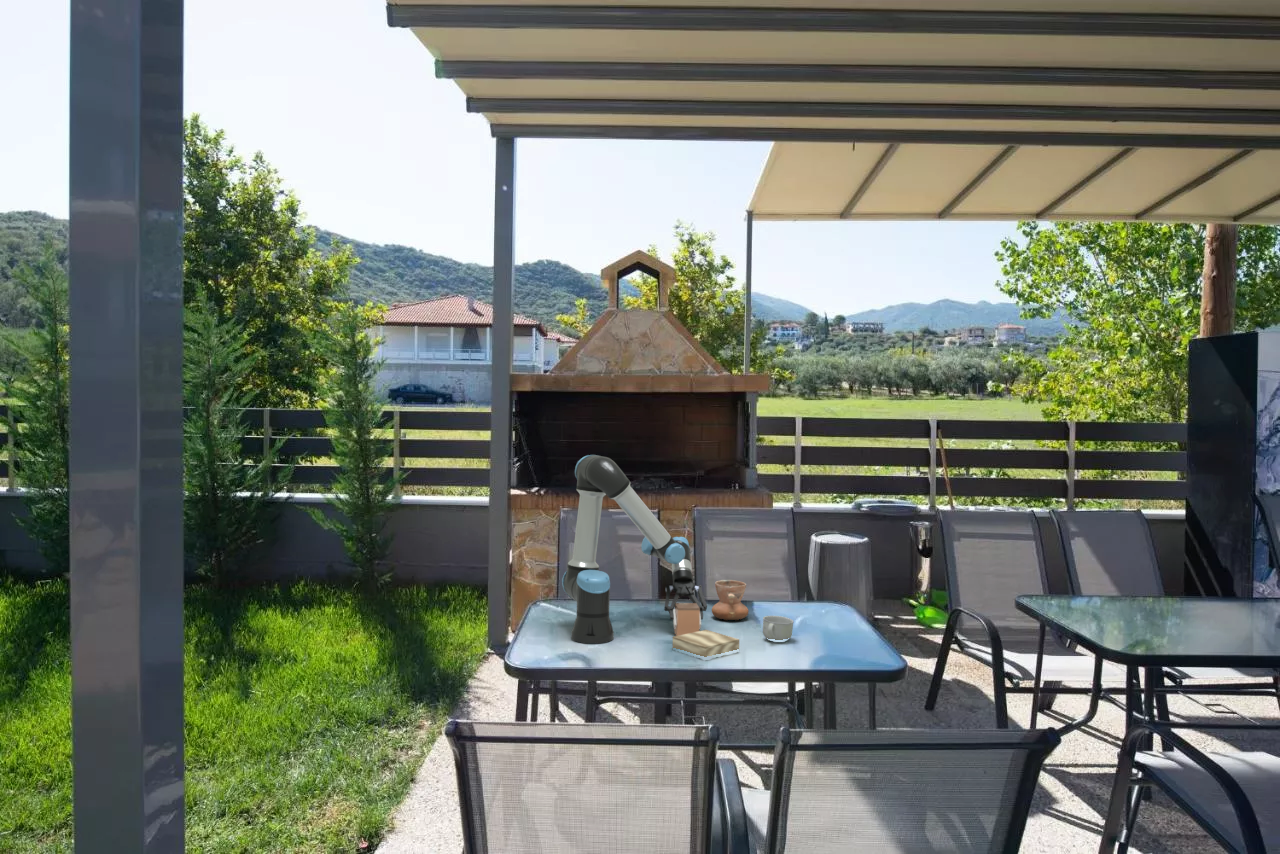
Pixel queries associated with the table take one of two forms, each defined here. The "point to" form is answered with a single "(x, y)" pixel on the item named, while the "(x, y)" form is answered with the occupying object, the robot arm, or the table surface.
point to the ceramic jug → (730, 600)
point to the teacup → (777, 627)
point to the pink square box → (687, 618)
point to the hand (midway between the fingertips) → (687, 626)
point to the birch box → (705, 643)
